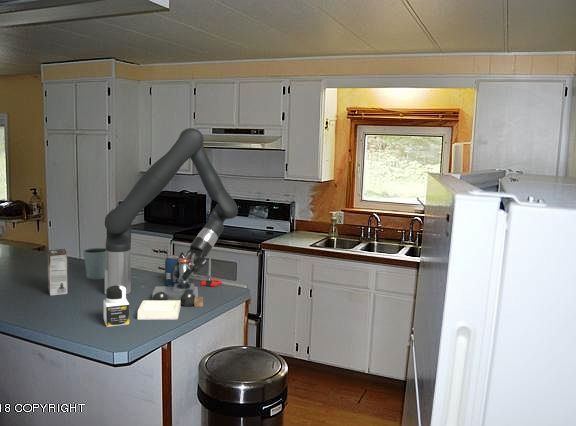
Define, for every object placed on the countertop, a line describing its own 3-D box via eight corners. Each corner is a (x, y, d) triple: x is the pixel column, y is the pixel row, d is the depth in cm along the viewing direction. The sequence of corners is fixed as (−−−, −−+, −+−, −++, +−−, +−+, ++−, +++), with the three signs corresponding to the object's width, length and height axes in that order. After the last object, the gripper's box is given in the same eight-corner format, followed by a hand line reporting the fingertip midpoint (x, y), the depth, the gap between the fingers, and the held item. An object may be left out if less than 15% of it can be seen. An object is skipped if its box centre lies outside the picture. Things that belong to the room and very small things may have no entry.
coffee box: (47, 289, 193) (46, 249, 191) (65, 287, 196) (64, 248, 194) (49, 295, 185) (49, 254, 183) (68, 294, 189) (67, 253, 187)
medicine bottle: (106, 327, 157) (106, 291, 155) (103, 320, 163) (103, 285, 161) (129, 324, 160) (129, 288, 158) (125, 317, 166) (125, 283, 165)
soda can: (171, 281, 212) (172, 254, 210) (184, 283, 209) (185, 256, 208) (161, 284, 206) (161, 257, 204) (174, 287, 203) (175, 259, 201)
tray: (137, 319, 165) (137, 310, 164) (143, 308, 176) (143, 300, 175) (177, 319, 166) (177, 310, 166) (180, 308, 178) (180, 300, 177)
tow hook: (205, 281, 216) (198, 285, 207) (206, 252, 215) (199, 255, 206) (223, 282, 215) (217, 287, 206) (225, 253, 214) (219, 257, 204)
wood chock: (194, 306, 180) (194, 298, 180) (194, 304, 182) (194, 296, 182) (202, 306, 180) (202, 298, 180) (203, 304, 183) (203, 296, 182)
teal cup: (113, 276, 215) (113, 249, 214) (93, 281, 207) (93, 253, 205) (98, 272, 221) (98, 246, 219) (78, 277, 212) (78, 250, 211)
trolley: (151, 306, 178) (151, 291, 177) (155, 296, 190) (155, 282, 189) (195, 306, 180) (196, 291, 179) (197, 296, 192) (197, 282, 192)
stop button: (177, 291, 184) (177, 260, 182) (178, 288, 188) (178, 257, 186) (188, 291, 184) (189, 260, 183) (189, 288, 189) (190, 257, 187)
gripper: (187, 233, 194) (162, 269, 186) (212, 239, 185) (186, 276, 177) (197, 245, 199) (172, 279, 191) (221, 250, 190) (197, 287, 182)
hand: (179, 277), depth 184 cm, fingers closed on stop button, 3 cm apart
